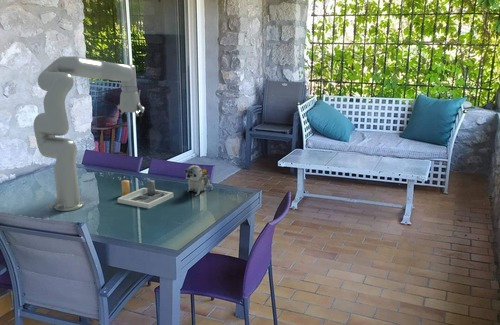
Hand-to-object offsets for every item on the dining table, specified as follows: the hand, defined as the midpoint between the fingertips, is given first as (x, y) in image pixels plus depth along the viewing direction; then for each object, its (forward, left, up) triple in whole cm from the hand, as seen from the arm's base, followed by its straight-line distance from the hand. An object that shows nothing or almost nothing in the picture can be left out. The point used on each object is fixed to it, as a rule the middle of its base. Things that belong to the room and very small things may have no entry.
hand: (131, 122), depth 252 cm
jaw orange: (-23, -14, -31) cm, 41 cm away
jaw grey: (-20, -27, -30) cm, 45 cm away
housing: (-24, -27, -31) cm, 48 cm away
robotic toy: (-3, -42, -32) cm, 53 cm away
